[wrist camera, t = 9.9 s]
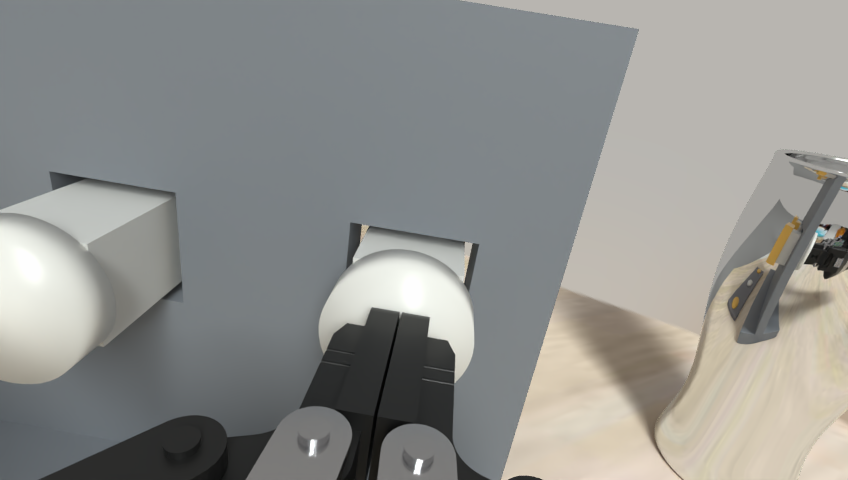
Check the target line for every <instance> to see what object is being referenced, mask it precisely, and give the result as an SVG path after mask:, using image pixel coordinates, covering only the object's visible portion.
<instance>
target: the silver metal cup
mask: <svg viewBox="0 0 848 480" xmlns="http://www.w3.org/2000/svg"><path fill="white" fill-rule="evenodd" d="M847 410H848V159H846V158H841V157H836V156H830V155H824V154H818V153H811V152H805V151H797V150H777V151H776V152H775V155H774V157H773V159H772V161H771V163H770V165H769V167H768V168H767V170H766V172H765V174H764V175H763V177H762V179H761V180H760V182H759V184H758V185H757V187H756V189H755V191H754V192H753V194H752V196H751V198H750V199H749V201H748V203H747V205H746V207H745V208H744V210H743V212H742V214H741V216H740V218H739V220H738V222H737V224H736V226H735V228H734V230H733V232H732V234H731V236H730V238H729V240H728V243H727V245H726V247H725V250H724V252H723V254H722V257H721V259H720V262H719V264H718V267H717V270H716V273H715V277H714V280H713V284H712V287H711V290H710V294H709V298H708V303H707V307H706V311H705V316H704V320H703V324H702V329H701V334H700V338H699V343H698V347H697V351H696V355H695V358H694V362H693V365H692V368H691V370H690V373H689V375H688V378H687V379H686V381H685V383H684V385H683V387H682V388H681V390H680V391H679V392H678V394H677V395H676V396H675V398H674V399H673V400H672V401H671V402H670V404H669V405H668V406H667V407H666V408H665V410H664V411H663V412H662V413H661V415H660V416H659V418H658V419H657V421H656V423H655V428H654V437H655V441H656V444H657V446H658V449H659V451H660V452H661V454H662V456H663V457H664V459H665V460H666V462H667V463H668V464H669V465H670V467H671V468H672V469H673V470H674V471H675V472H676V473H677V474H678V475H679V476H680V477H681V478H682V479H683V480H798V479H799V476H800V472H801V469H802V467H803V464H804V462H805V459H806V457H807V455H808V454H809V452H810V450H811V449H812V447H813V445H814V444H815V443H816V441H817V440H818V439H819V438H820V436H821V435H822V434H823V433H824V431H826V430H827V429H828V428H829V427H830V426H831V425H832V424H833V423H834V422H835V421H836V420H837V419H838V418H839V417H840V416H841V415H843V414H844V413H845V412H846V411H847Z"/></svg>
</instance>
